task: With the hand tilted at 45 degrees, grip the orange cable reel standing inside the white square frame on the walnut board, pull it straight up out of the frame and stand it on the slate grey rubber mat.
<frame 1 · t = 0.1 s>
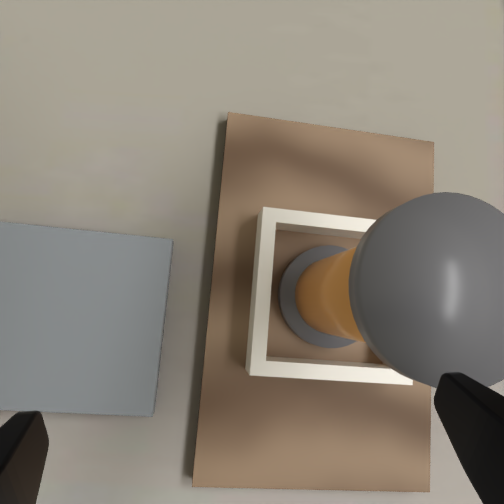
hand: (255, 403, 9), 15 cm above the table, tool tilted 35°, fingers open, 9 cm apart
walnut board: (320, 296, 24), on the table
grey mat: (76, 317, 22), on the table
white square frame: (331, 295, 22), on the walnut board, point 1 cm above the table
cable reel: (325, 296, 23), point 1 cm above the table, touching walnut board
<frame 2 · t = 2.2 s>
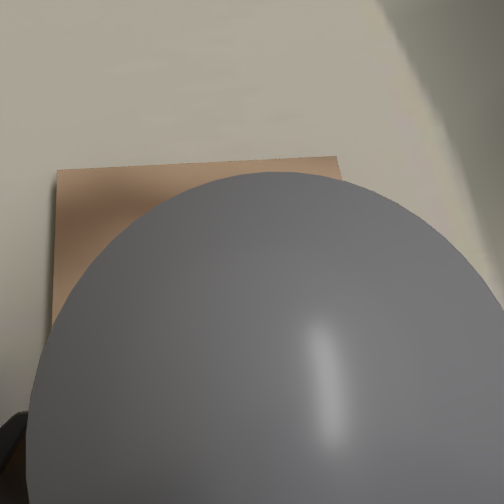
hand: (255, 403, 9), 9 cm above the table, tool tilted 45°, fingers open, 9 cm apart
walnut board: (229, 392, 17), on the table
cable reel: (230, 392, 16), point 1 cm above the table, touching walnut board
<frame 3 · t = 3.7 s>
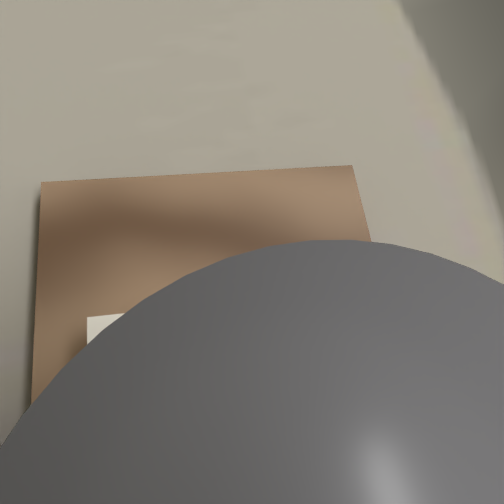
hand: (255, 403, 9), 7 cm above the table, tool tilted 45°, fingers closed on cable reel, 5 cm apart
walnut board: (234, 435, 15), on the table
white square frame: (239, 442, 13), on the walnut board, point 1 cm above the table
cable reel: (236, 438, 14), point 1 cm above the table, touching gripper, walnut board
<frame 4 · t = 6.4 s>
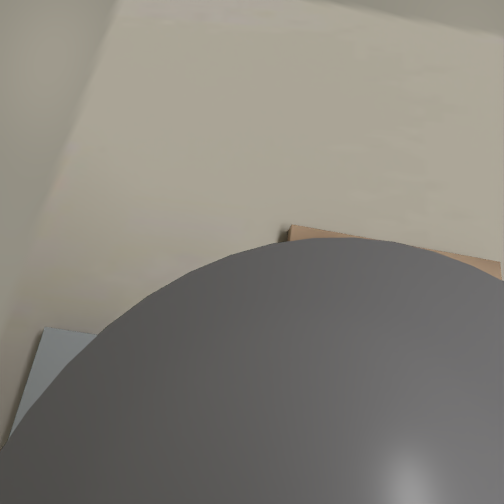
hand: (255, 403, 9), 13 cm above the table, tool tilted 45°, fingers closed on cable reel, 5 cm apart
walnut board: (388, 428, 22), on the table
grey mat: (119, 440, 20), on the table
cable reel: (237, 437, 14), point 7 cm above the table, touching gripper
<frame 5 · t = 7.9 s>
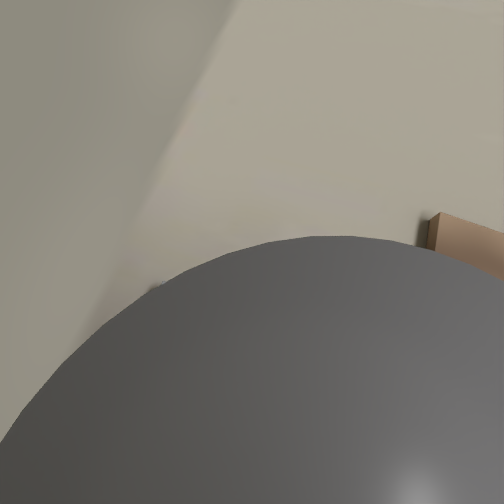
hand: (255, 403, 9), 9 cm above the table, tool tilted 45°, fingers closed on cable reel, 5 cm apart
cable reel: (236, 437, 14), point 3 cm above the table, touching gripper
when the fingers open (8 cm above the table, at t = 8.9 s): cable reel drops 1 cm, resting on grey mat.
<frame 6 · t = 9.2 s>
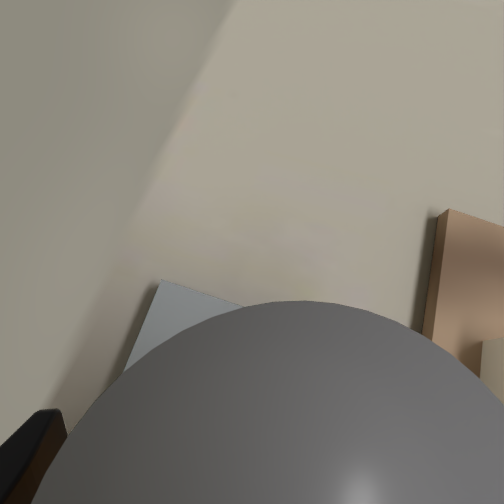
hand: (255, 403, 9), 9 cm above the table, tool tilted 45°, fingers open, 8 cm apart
grey mat: (231, 431, 16), on the table
cable reel: (233, 436, 15), point 1 cm above the table, touching grey mat
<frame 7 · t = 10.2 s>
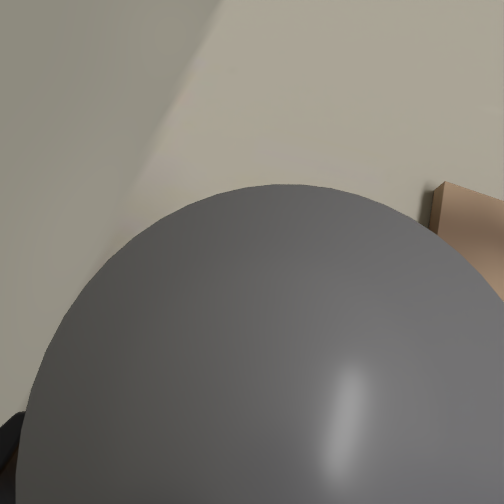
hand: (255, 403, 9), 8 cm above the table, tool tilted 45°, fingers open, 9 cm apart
cable reel: (231, 397, 15), point 1 cm above the table, touching grey mat
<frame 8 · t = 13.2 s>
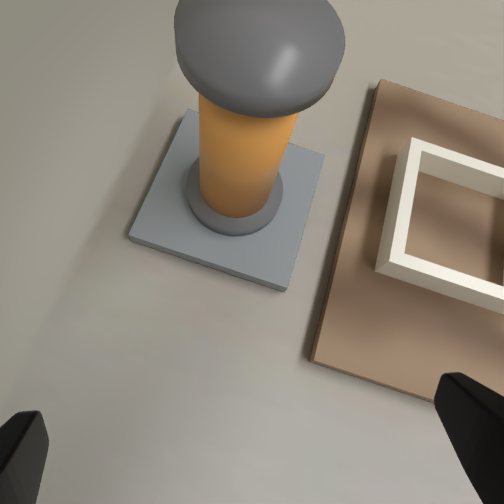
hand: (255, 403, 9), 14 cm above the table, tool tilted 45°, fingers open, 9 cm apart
walnut board: (442, 236, 26), on the table
grey mat: (232, 199, 25), on the table
white square frame: (461, 224, 25), on the walnut board, point 1 cm above the table
cable reel: (234, 193, 24), point 1 cm above the table, touching grey mat
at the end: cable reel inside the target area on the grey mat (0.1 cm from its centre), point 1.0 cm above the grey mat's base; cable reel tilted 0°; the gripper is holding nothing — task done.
